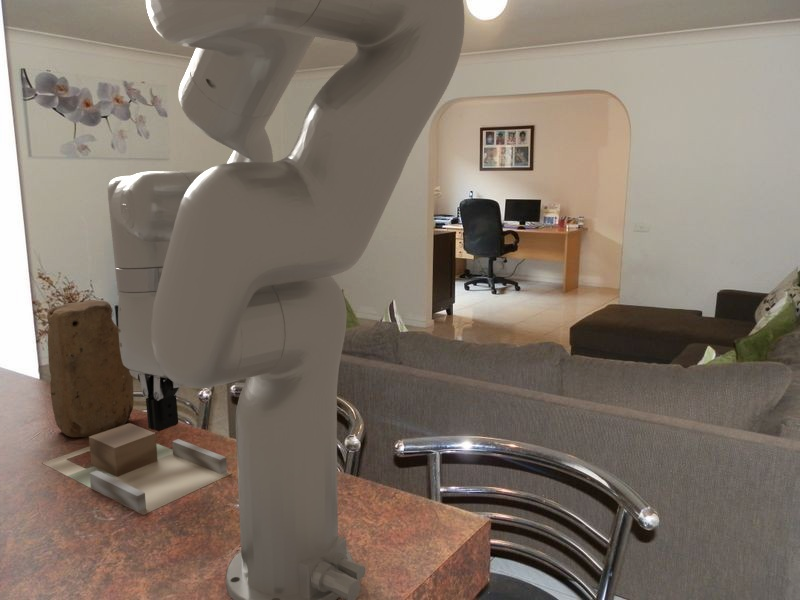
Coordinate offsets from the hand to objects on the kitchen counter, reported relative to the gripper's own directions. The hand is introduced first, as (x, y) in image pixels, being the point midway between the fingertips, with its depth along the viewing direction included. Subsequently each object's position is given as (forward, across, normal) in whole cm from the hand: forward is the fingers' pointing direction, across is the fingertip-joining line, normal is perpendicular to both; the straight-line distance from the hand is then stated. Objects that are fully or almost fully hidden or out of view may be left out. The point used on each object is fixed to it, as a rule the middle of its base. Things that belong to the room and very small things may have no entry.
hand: (163, 426), depth 83 cm
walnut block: (+7, +10, 0) cm, 12 cm away
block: (+8, +27, -6) cm, 29 cm away
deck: (+8, +8, 0) cm, 11 cm away
